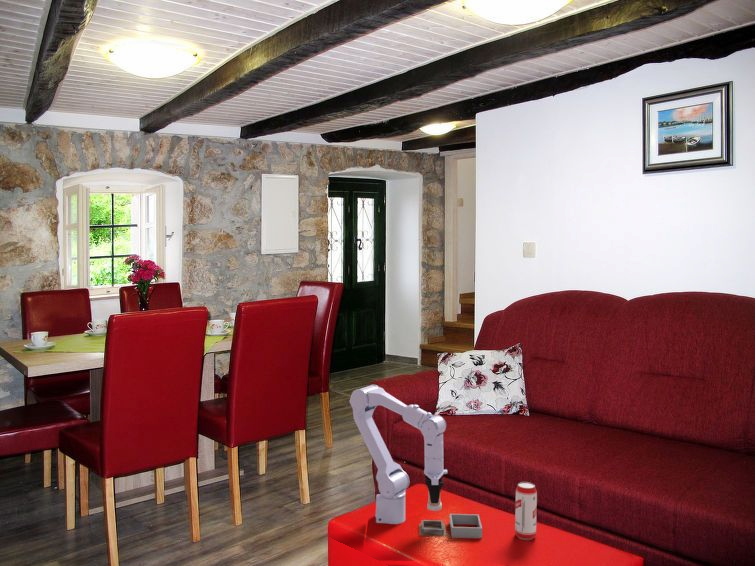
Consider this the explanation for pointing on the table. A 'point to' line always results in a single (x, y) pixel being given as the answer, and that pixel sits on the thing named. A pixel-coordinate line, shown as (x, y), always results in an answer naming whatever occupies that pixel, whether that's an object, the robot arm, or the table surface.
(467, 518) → the bin
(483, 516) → the table surface
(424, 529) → the square framed plate
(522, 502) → the beer can
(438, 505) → the peach cylinder
